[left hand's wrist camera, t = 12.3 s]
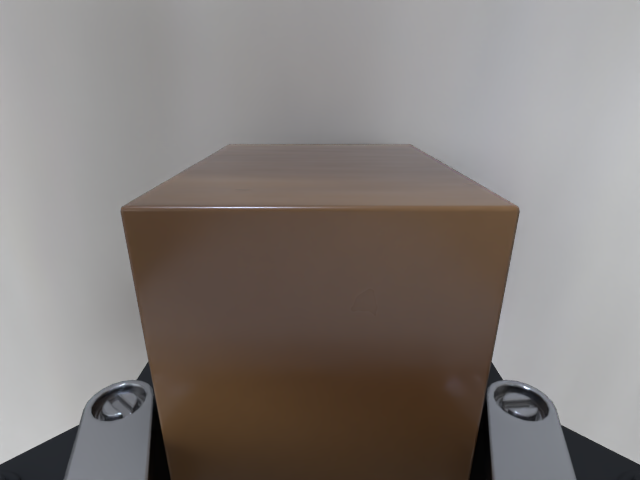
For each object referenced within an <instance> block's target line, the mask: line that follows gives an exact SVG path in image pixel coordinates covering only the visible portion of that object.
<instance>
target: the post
mask: <svg viewBox="0 0 640 480" xmlns="http://www.w3.org/2000/svg"><path fill="white" fill-rule="evenodd" d="M519 212H520V211H519V207H518V206H516V205H514V204H513V203H511V202H509V201H508V200H506V199H504V198H502V197H501V196H499V195H497V194H495V193H494V192H492V191H490V190H489V189H487V188H485V187H483V186H482V185H480V184H478V183H476V182H475V181H473V180H471V179H470V178H468V177H466V176H464V175H463V174H461V173H459V172H457V171H456V170H454V169H452V168H451V167H449V166H447V165H445V164H444V163H442V162H440V161H438V160H437V159H435V158H433V157H432V156H430V155H428V154H426V153H425V152H423V151H421V150H419V149H418V148H416V147H414V146H413V145H410V144H229V145H227V146H225V147H224V148H222V149H220V150H219V151H217V152H215V153H213V154H212V155H210V156H208V157H207V158H205V159H203V160H201V161H200V162H198V163H196V164H194V165H193V166H191V167H189V168H188V169H186V170H184V171H182V172H181V173H179V174H177V175H176V176H174V177H172V178H170V179H169V180H167V181H165V182H164V183H162V184H160V185H158V186H157V187H155V188H153V189H152V190H150V191H148V192H146V193H145V194H143V195H141V196H139V197H138V198H136V199H134V200H133V201H131V202H129V203H127V204H126V205H124V206H122V208H121V216H122V221H123V227H124V232H125V237H126V243H127V248H128V254H129V259H130V264H131V270H132V275H133V280H134V286H135V291H136V296H137V302H138V307H139V312H140V318H141V323H142V328H143V334H144V339H145V344H146V350H147V355H148V361H149V366H150V371H151V377H152V382H153V387H154V393H155V398H156V403H157V409H158V414H159V419H160V425H161V430H162V435H163V441H164V446H165V451H166V457H167V462H168V467H169V473H170V478H171V480H469V478H470V473H471V468H472V462H473V457H474V452H475V446H476V441H477V436H478V430H479V425H480V420H481V414H482V409H483V404H484V398H485V393H486V388H487V382H488V377H489V372H490V367H491V361H492V356H493V351H494V345H495V340H496V335H497V329H498V324H499V319H500V313H501V308H502V303H503V297H504V292H505V287H506V281H507V276H508V271H509V265H510V260H511V255H512V249H513V244H514V239H515V233H516V228H517V223H518V217H519Z"/></svg>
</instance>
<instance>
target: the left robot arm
mask: <svg viewBox="0 0 640 480" xmlns="http://www.w3.org/2000/svg"><path fill="white" fill-rule="evenodd" d="M0 480H171V478H170V473H169V467H168V462H167V457H166V451H165V446H164V441H163V435H162V430H161V425H160V419H159V414H158V409H157V403H156V398H155V393H154V387H153V382H152V377H151V371H150V366H149V361H148V363H147V364H146V366H145V368H144V369H143V371H142V372H141V374H140V375H139V377H138V379H137V380H128V381H122V382H118V383H115V384H112V385H110V386H108V387H106V388H104V389H102V390H101V391H99V392H98V393H96V394H95V395H94V396H93V397H92V398H91V399H90V400H89V401H88V402H87V404H86V406H85V408H84V410H83V413H82V417H81V420H80V424H79V425H78V426H76V427H74V428H72V429H70V430H68V431H66V432H64V433H62V434H60V435H58V436H56V437H54V438H52V439H50V440H48V441H46V442H44V443H42V444H40V445H38V446H36V447H34V448H32V449H30V450H28V451H26V452H24V453H22V454H20V455H18V456H16V457H14V458H12V459H11V460H9V461H7V462H5V463H3V464H1V465H0ZM469 480H640V465H639V464H637V463H635V462H633V461H631V460H629V459H627V458H625V457H623V456H621V455H619V454H617V453H615V452H613V451H611V450H609V449H607V448H605V447H604V446H602V445H600V444H598V443H596V442H594V441H592V440H590V439H588V438H586V437H584V436H582V435H580V434H578V433H576V432H574V431H572V430H570V429H568V428H566V427H564V426H562V425H561V424H560V420H559V417H558V413H557V410H556V408H555V406H554V404H553V402H552V401H551V400H550V399H549V398H548V397H547V396H546V395H545V394H544V393H542V392H541V391H539V390H538V389H536V388H534V387H532V386H530V385H528V384H525V383H522V382H518V381H512V380H503V379H502V378H501V376H500V375H499V373H498V371H497V370H496V368H495V367H494V365H493V363H492V362H491V367H490V372H489V377H488V382H487V388H486V393H485V398H484V404H483V409H482V414H481V420H480V425H479V430H478V436H477V441H476V446H475V452H474V457H473V462H472V468H471V473H470V478H469Z"/></svg>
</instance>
